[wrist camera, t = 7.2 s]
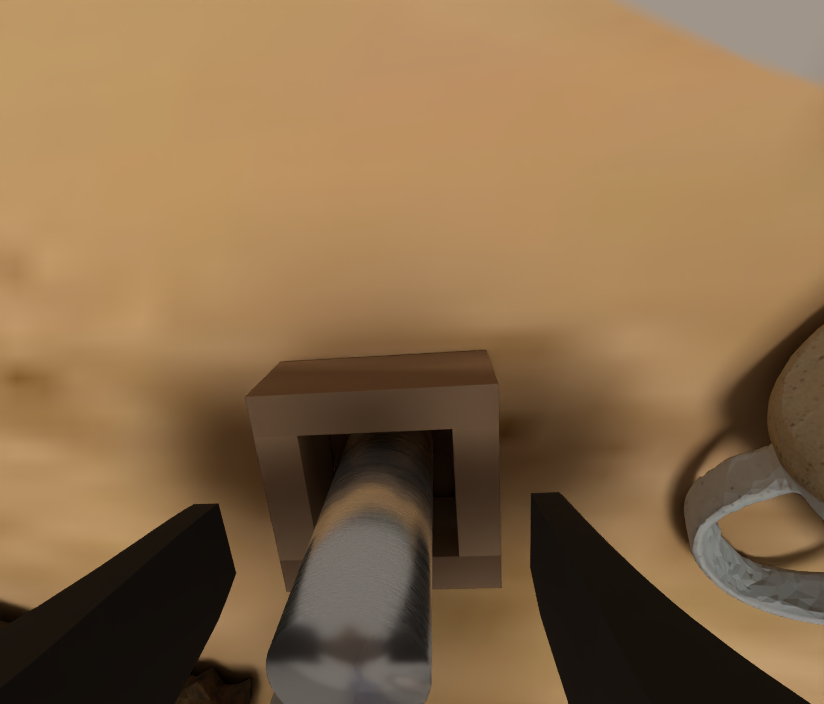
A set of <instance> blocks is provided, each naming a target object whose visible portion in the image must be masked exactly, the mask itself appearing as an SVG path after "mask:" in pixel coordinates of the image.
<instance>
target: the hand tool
mask: <svg viewBox="0 0 824 704" xmlns="http://www.w3.org/2000/svg"><path fill="white" fill-rule="evenodd" d="M8 624H9V623H7V622H4V621H0V629H1V628H3V627H4V626H6V625H8ZM251 693H252V680H251V679H250V680H245V681H243V682H241V683H239V684H233V685H228V684H225V683H224V682H223V681H222V680H221V679H220V678H219V676H218V674H217V673H216V671H215V670H214V669H213V668H211V669H209V670H206V671H204V672H203V673H201V674H200V675H198V676H193V675H190V676H189V678H188V679H187V681H186V683H185V685H184V687H183V689H182V691H181V693H180V695H179V697H178V698H177V700H176V702H175V704H249V703H250V698H251Z"/></svg>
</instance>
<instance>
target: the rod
mask: <svg viewBox="0 0 824 704" xmlns="http://www.w3.org/2000/svg"><path fill="white" fill-rule="evenodd" d="M432 528H433V438H432V435H431V432H430V430H417V431H394V432H372V433H351V434H350V437H349V439H348V442H347V444H346V447H345V450H344V452H343V455H342V458H341V460H340V463H339V466H338V468H337V471H336V474H335V476H334V479H333V482H332V484H331V487H330V489H329V492H328V495H327V497H326V500H325V503H324V505H323V508H322V511H321V513H320V516H319V519H318V521H317V524H316V526H315V529H314V532H313V534H312V537H311V540H310V542H309V545H308V548H307V550H306V553H305V556H304V558H303V561H302V564H301V566H300V569H299V571H298V574H297V577H296V579H295V582H294V585H293V587H292V590H291V593H290V595H289V598H288V601H287V603H286V606H285V609H284V611H283V614H282V616H281V619H280V622H279V624H278V627H277V630H276V632H275V635H274V638H273V640H272V643H271V646H270V648H269V651H268V654H267V659H266V671H267V677H268V680H269V683H270V685H271V687H272V689H273V691H274V692H275V694H276V695H277V696H278V698H279V699H280V700H281V701H282V702H283V703H284V704H424V702H425V701H426V699H427V697H428V694H429V692H430V687H431V654H432Z"/></svg>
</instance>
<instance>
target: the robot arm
mask: <svg viewBox="0 0 824 704" xmlns="http://www.w3.org/2000/svg"><path fill="white" fill-rule="evenodd" d="M530 568H531V573H532V578H533V583H534V588H535V593H536V597H537V602H538V607H539V611H540V616H541V619H542V622H543V625H544V628H545V632H546V635H547V638H548V641H549V644H550V647H551V651H552V654H553V657H554V660H555V663H556V666H557V669H558V672H559V676H560V679H561V682H562V685H563V688H564V691H565V694H566V697H567V700H568V704H810V703H809V702H807V701H806V700H805V699H803V698H802V697H800V696H799V695H797V694H796V693H794V692H793V691H791V690H790V689H788V688H787V687H786V686H784V685H783V684H781V683H780V682H778V681H777V680H775V679H774V678H772V677H771V676H769V675H768V674H767V673H765V672H764V671H762V670H761V669H759V668H758V667H757V666H755V665H754V664H752V663H751V662H750V661H748V660H747V659H745V658H744V657H743V656H741V655H740V654H739V653H737V652H736V651H734V650H733V649H732V648H730V647H729V646H728V645H727V644H725V643H724V642H723V641H721V640H720V639H719V638H717V637H716V636H715V635H714V634H712V633H711V632H710V631H708V630H707V629H706V628H704V627H703V626H702V625H701V624H699V623H698V622H697V621H695V620H694V619H693V618H692V617H690V616H689V615H688V614H687V613H685V612H684V611H683V610H682V609H680V608H679V607H678V606H677V605H676V604H674V603H673V602H672V601H671V600H670V599H669V598H667V597H666V596H665V595H664V594H663V593H662V592H661V591H659V590H658V589H657V588H656V587H655V586H654V585H653V584H651V583H650V582H649V581H648V580H647V579H646V578H645V577H644V576H643V575H642V574H640V573H639V572H638V571H637V570H636V569H635V568H634V567H633V566H632V565H631V564H630V563H629V562H628V561H627V560H626V559H625V558H623V557H622V556H621V555H620V554H619V553H618V552H617V551H616V550H615V549H614V548H613V547H612V546H611V545H610V544H609V543H608V542H607V541H606V540H605V539H604V538H603V537H602V536H601V535H600V534H599V533H598V532H597V531H596V530H595V529H594V528H593V527H592V526H591V525H590V524H589V523H588V522H587V521H586V520H585V519H584V518H583V516H582V515H581V514H580V513H579V512H578V511H577V510H576V509H575V508H574V507H573V506H572V505H571V504H570V503H569V502H568V501H567V499H566V498H565V497H564V496H563V495H561V494H560V493H559V492H551V493H531V547H530ZM235 575H236V571H235V567H234V563H233V559H232V555H231V551H230V547H229V543H228V539H227V535H226V531H225V527H224V523H223V519H222V516H221V512H220V508H219V504H193V505H192V506H190V507H188V508H187V509H185V510H183V511H182V512H180V513H178V514H177V515H175V516H174V517H172V518H171V519H169V520H168V521H166V522H165V523H163V524H162V525H160V526H159V527H157V528H156V529H154V530H153V531H151V532H150V533H148V534H147V535H145V536H144V537H143V538H141V539H140V540H138V541H137V542H135V543H134V544H132V545H131V546H129V547H128V548H126V549H125V550H123V551H122V552H120V553H119V554H118V555H116V556H115V557H113V558H112V559H110V560H109V561H107V562H106V563H104V564H103V565H101V566H100V567H98V568H97V569H95V570H94V571H92V572H91V573H89V574H88V575H86V576H84V577H83V578H81V579H80V580H78V581H77V582H75V583H74V584H72V585H70V586H69V587H67V588H66V589H64V590H63V591H61V592H60V593H58V594H56V595H55V596H53V597H52V598H50V599H49V600H47V601H46V602H44V603H42V604H41V605H39V606H38V607H36V608H34V609H33V610H31V611H30V612H28V613H26V614H25V615H23V616H21V617H20V618H18V619H16V620H15V621H13V622H11V623H9V624H8V625H6V626H4V627H3V628H1V629H0V704H175V702H176V700H177V698H178V697H179V695H180V693H181V691H182V689H183V687H184V685H185V683H186V681H187V679H188V678H189V676H190V674H191V672H192V670H193V668H194V666H195V664H196V662H197V661H198V659H199V657H200V655H201V653H202V651H203V649H204V647H205V645H206V643H207V641H208V639H209V637H210V635H211V633H212V632H213V630H214V628H215V626H216V624H217V622H218V620H219V617H220V615H221V612H222V610H223V607H224V605H225V602H226V600H227V597H228V594H229V592H230V589H231V586H232V583H233V581H234V578H235Z"/></svg>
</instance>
